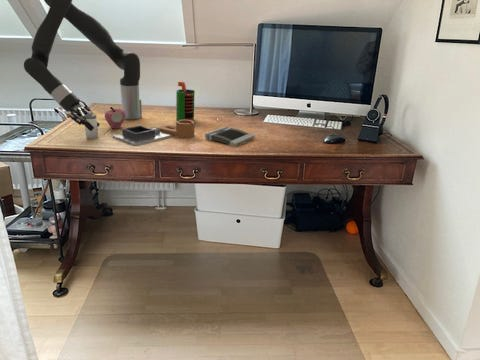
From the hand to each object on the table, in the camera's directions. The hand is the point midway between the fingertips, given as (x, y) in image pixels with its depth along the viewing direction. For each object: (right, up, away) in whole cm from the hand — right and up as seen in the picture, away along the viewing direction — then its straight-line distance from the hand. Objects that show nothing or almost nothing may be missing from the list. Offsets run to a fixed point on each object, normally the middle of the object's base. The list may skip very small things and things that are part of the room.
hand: (95, 127), depth 168 cm
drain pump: (-2, -4, +2) cm, 5 cm away
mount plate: (+19, -3, +6) cm, 20 cm away
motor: (+33, +9, +38) cm, 51 cm away
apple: (+3, +2, +19) cm, 19 cm away
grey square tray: (+58, -4, +11) cm, 59 cm away
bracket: (+33, -2, +14) cm, 36 cm away
